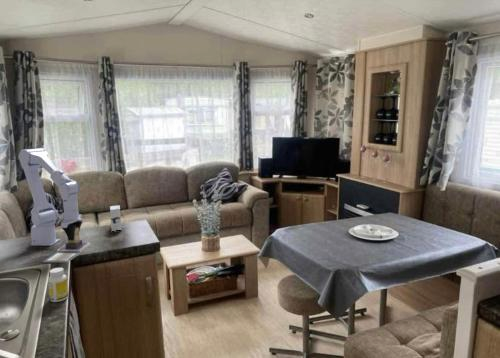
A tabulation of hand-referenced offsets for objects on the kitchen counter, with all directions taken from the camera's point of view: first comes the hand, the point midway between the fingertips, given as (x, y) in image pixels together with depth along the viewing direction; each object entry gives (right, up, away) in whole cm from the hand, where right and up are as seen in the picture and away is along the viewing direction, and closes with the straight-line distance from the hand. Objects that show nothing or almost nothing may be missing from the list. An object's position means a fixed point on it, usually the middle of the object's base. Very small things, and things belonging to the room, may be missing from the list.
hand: (73, 238), depth 164 cm
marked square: (0, -6, -10) cm, 11 cm away
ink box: (+8, 0, +29) cm, 30 cm away
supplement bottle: (+16, -13, -44) cm, 48 cm away
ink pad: (0, -5, +1) cm, 5 cm away
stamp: (0, -3, +1) cm, 3 cm away
